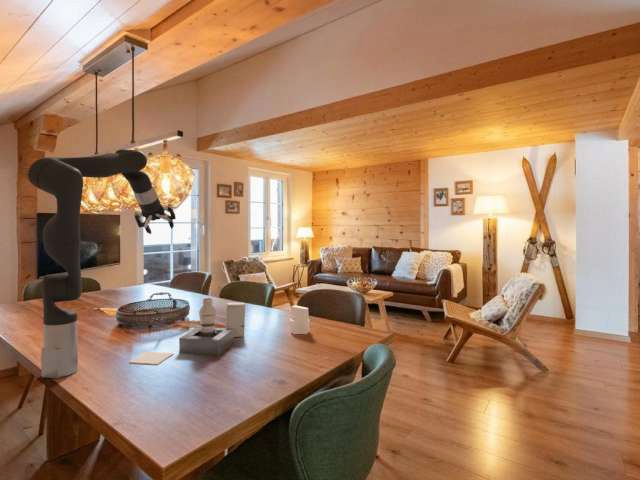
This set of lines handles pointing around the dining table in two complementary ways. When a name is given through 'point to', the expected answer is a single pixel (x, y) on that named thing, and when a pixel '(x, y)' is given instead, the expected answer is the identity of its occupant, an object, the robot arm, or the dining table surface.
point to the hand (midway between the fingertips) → (161, 229)
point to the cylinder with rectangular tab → (299, 320)
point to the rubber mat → (151, 358)
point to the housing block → (206, 342)
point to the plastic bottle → (207, 318)
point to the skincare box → (236, 317)
